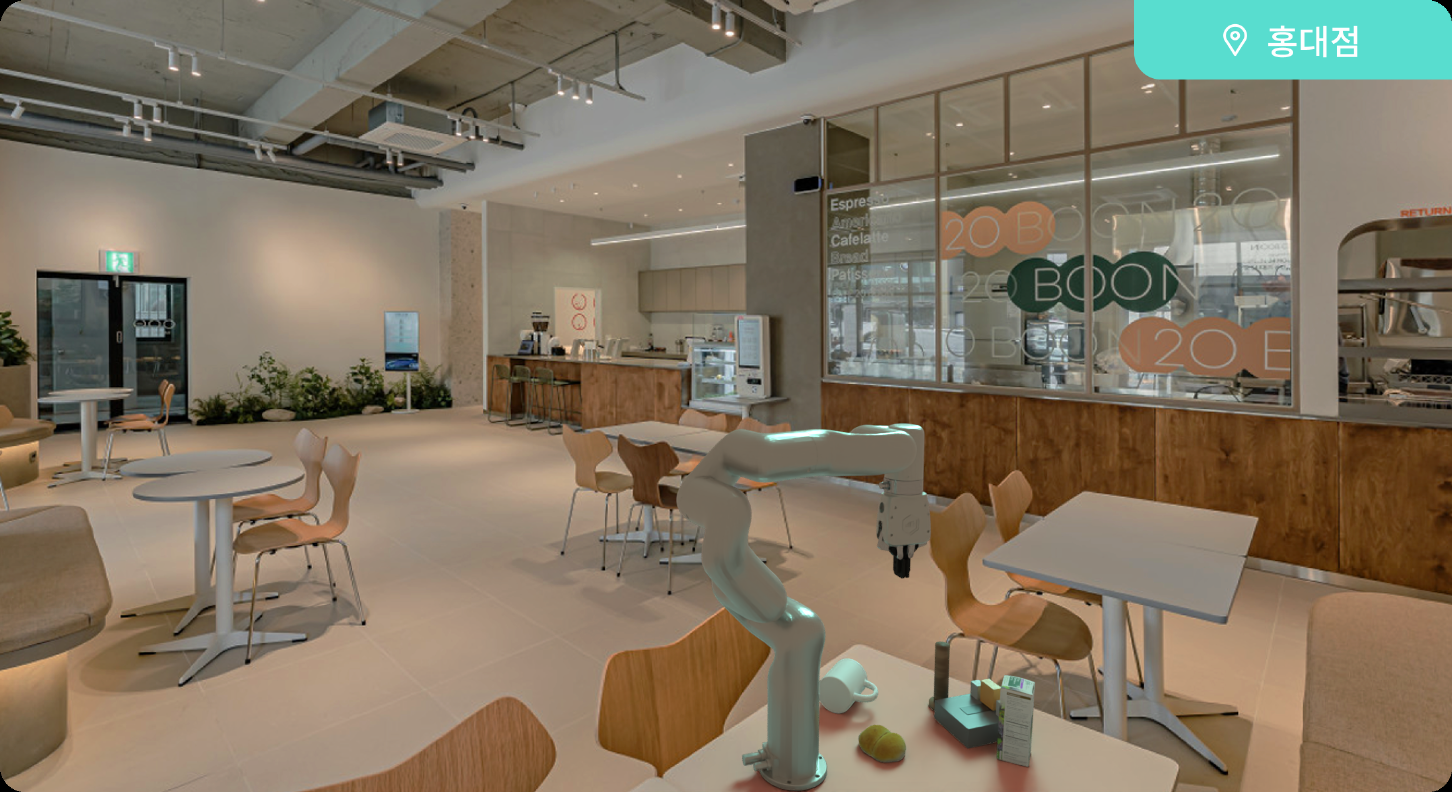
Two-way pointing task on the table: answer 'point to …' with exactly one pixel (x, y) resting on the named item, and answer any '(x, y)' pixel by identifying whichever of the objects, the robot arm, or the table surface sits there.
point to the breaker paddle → (989, 693)
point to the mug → (845, 686)
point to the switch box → (969, 717)
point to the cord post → (940, 673)
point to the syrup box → (1015, 720)
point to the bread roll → (882, 744)
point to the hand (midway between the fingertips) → (901, 575)
